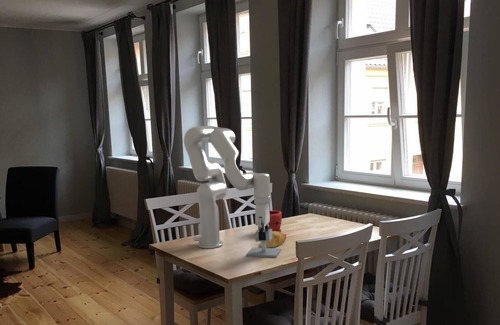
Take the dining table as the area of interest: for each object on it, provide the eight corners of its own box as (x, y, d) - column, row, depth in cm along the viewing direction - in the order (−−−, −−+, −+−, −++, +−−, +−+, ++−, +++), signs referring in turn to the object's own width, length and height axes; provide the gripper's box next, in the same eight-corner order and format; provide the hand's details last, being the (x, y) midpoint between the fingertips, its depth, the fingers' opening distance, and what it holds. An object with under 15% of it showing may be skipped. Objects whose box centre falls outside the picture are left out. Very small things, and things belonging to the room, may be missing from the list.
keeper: (246, 256, 209) (245, 240, 208) (252, 249, 220) (252, 234, 219) (276, 257, 205) (275, 241, 205) (281, 250, 216) (280, 235, 215)
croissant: (265, 257, 218) (270, 244, 215) (250, 245, 223) (255, 232, 220) (289, 246, 235) (295, 233, 231) (275, 234, 240) (280, 222, 236)
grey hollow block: (255, 241, 209) (255, 231, 209) (259, 237, 216) (258, 228, 215) (269, 241, 208) (269, 232, 207) (272, 238, 214) (272, 228, 214)
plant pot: (282, 230, 254) (281, 209, 253) (281, 237, 241) (281, 214, 240) (259, 231, 255) (258, 210, 254) (257, 237, 242) (256, 215, 241)
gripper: (259, 197, 219) (260, 233, 221) (249, 203, 203) (251, 243, 204) (274, 197, 217) (275, 233, 219) (266, 203, 201) (267, 243, 202)
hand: (264, 237), depth 212 cm, fingers closed on grey hollow block, 6 cm apart
